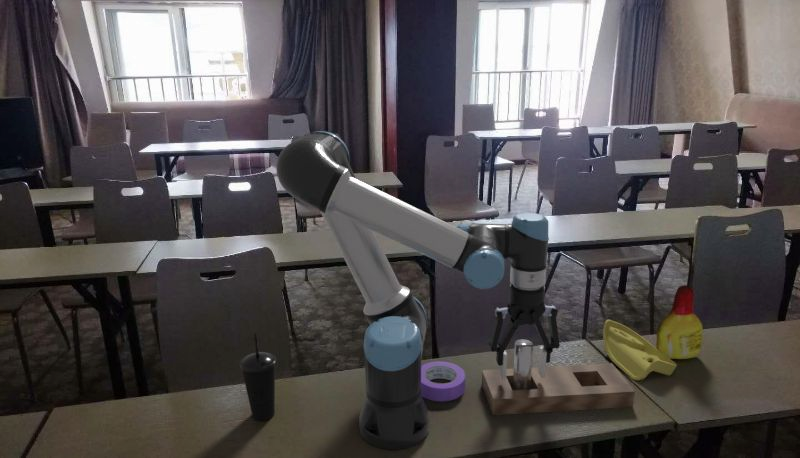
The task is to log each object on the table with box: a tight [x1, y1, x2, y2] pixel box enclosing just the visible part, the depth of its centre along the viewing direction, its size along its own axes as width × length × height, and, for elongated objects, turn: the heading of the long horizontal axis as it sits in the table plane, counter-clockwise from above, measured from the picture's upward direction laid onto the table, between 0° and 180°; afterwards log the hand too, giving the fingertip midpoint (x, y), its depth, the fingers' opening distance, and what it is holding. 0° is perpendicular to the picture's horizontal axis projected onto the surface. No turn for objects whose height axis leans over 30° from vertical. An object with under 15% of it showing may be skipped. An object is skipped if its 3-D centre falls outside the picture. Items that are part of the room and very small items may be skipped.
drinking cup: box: [239, 333, 277, 422], centre depth 125 cm, size 8×8×20 cm
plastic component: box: [602, 319, 678, 381], centre depth 147 cm, size 20×7×10 cm
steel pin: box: [513, 338, 534, 390], centre depth 130 cm, size 4×4×14 cm
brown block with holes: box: [481, 362, 636, 416], centre depth 132 cm, size 32×12×4 cm, turn 94°
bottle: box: [655, 284, 704, 360], centre depth 146 cm, size 12×6×20 cm, turn 95°
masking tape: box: [421, 360, 466, 402], centre depth 137 cm, size 12×12×4 cm
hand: (522, 375), depth 131 cm, fingers open, 8 cm apart
